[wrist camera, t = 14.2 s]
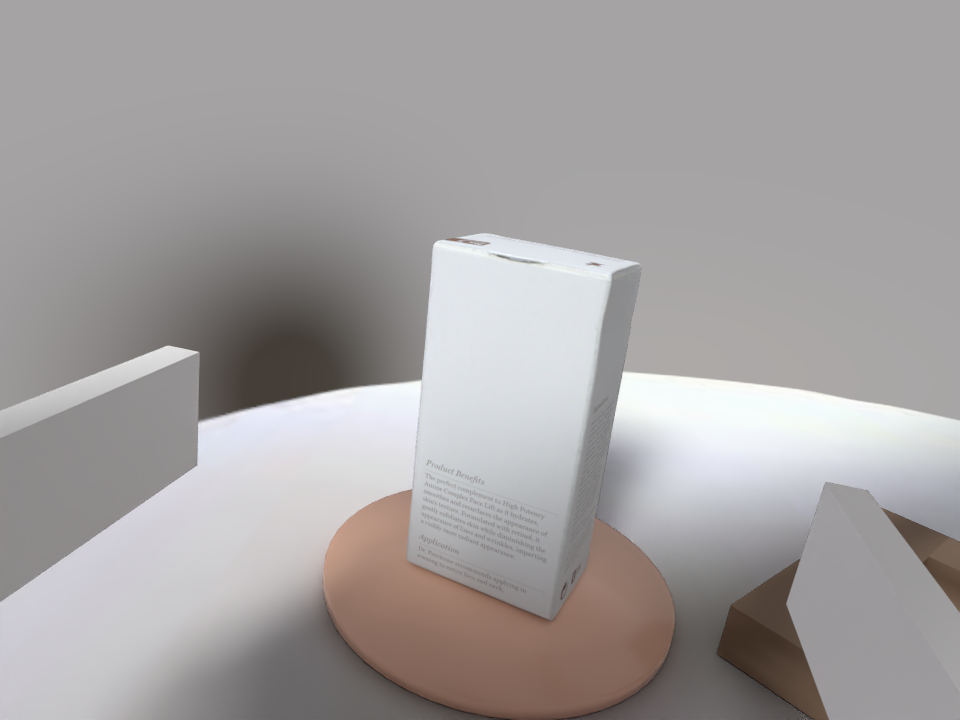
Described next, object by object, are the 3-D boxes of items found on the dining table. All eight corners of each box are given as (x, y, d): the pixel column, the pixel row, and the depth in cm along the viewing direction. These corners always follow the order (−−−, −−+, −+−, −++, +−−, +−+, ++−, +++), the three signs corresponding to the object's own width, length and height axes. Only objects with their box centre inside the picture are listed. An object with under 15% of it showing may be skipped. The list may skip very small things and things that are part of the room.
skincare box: (588, 568, 27) (654, 260, 23) (549, 633, 23) (622, 274, 19) (449, 515, 29) (490, 228, 25) (392, 566, 25) (431, 234, 21)
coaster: (738, 619, 26) (743, 606, 26) (484, 801, 17) (488, 782, 17) (504, 473, 35) (506, 462, 35) (260, 544, 26) (260, 530, 26)
